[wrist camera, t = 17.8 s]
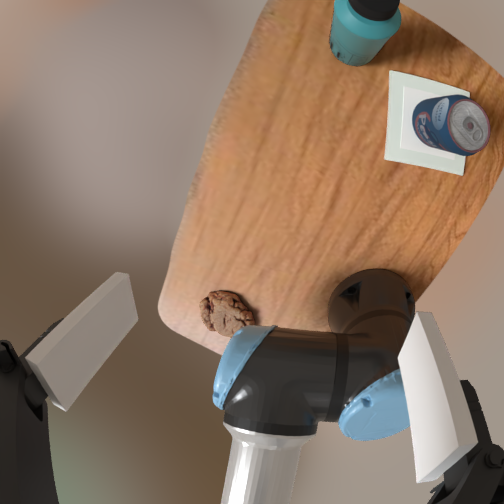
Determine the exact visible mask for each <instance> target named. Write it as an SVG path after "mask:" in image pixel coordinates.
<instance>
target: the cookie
mask: <svg viewBox="0 0 504 504" xmlns="http://www.w3.org/2000/svg"><path fill="white" fill-rule="evenodd" d="M199 306H200V311H201V317H202V321H203V323H204V324H205V326H206V327H207V328H208V329H209V330H210V331H217V332H218V333H219V334H221V335H223V336H227V337H231V338H232V337H233V335H234V334H235V333H236V332H237V331H238V330H239V329H240V328H242V327H244V326H247V325H254V324H255V320H254V318H253V316H252V312H251V311H250V312H249V311H247V310H248V308H247V307H245V306H244V305H243V304H242V303H241V302H240V298H239V297H238V296H237V295H236V294H232V293H229V292H224V291H216V292H215V291H214V292H210V293H209V296H208V297H206V298H204V299H203V300H202V301H201V302H200V305H199Z"/></svg>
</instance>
